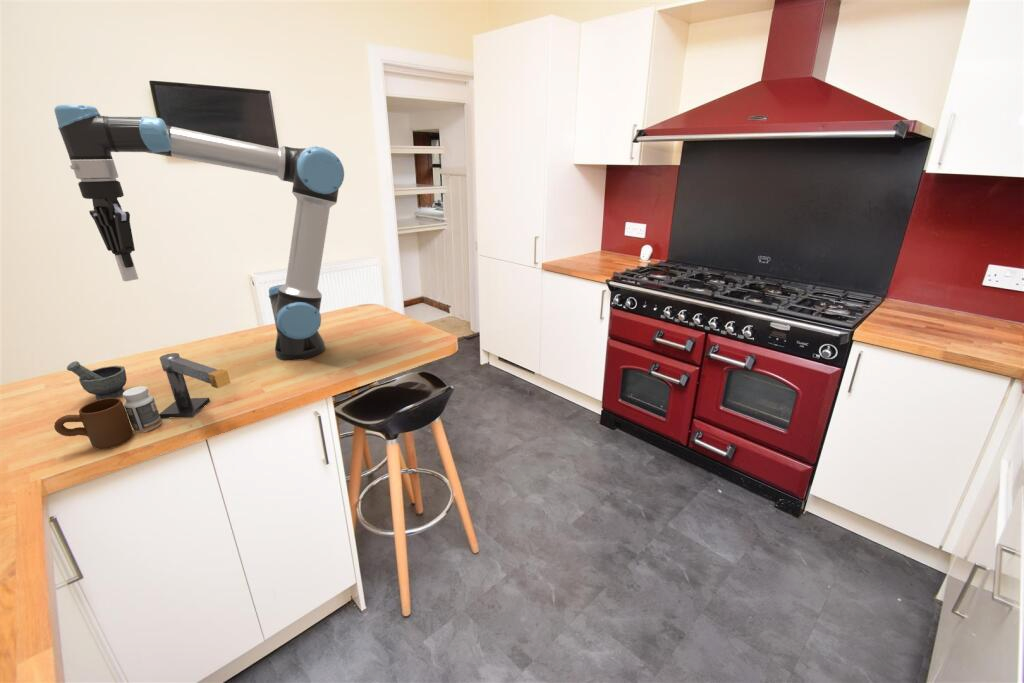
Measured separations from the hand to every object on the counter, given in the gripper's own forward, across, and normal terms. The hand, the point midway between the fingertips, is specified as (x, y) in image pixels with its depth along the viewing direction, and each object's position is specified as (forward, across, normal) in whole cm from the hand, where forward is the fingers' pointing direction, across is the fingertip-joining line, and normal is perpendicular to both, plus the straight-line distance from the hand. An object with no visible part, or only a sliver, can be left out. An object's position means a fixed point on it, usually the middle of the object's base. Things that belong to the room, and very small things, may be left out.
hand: (130, 279), depth 116 cm
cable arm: (+21, +23, -3) cm, 31 cm away
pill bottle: (+33, +13, -12) cm, 37 cm away
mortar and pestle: (+33, -14, -8) cm, 36 cm away
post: (+32, +13, -3) cm, 35 cm away
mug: (+33, +12, -21) cm, 40 cm away
